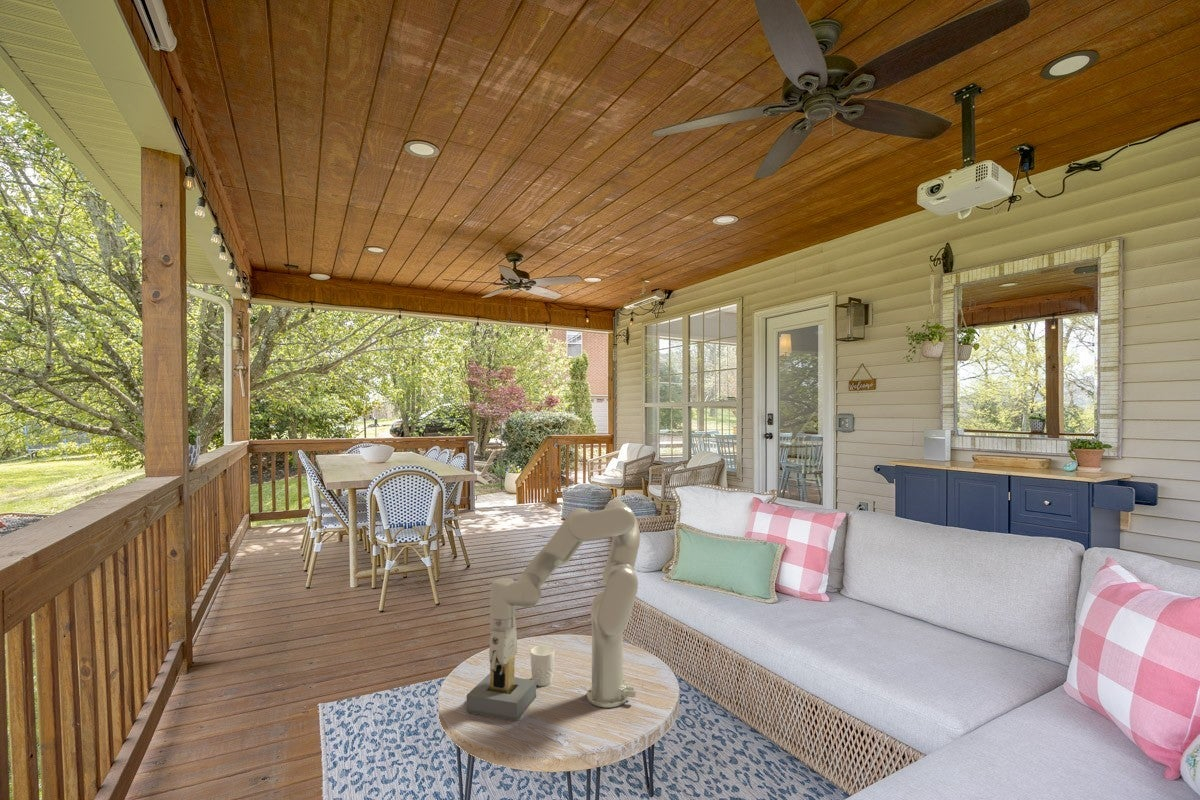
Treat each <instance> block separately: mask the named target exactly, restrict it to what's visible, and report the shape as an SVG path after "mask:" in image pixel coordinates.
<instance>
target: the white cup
mask: <svg viewBox="0 0 1200 800" xmlns="http://www.w3.org/2000/svg"><path fill="white" fill-rule="evenodd" d="M555 652H556V649H555V648H554V647H553V646H550V645H536V646H534V647H532V648H531V649H530V668H531V680H536V686H537V685H538V687H545V686H546V687H547V686H549V685H551V684H552V683H553V682H554V671H555V655H556V653H555Z"/></svg>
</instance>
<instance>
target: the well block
mask: <svg viewBox="0 0 1200 800" xmlns="http://www.w3.org/2000/svg"><path fill="white" fill-rule="evenodd" d="M536 698H537V685H536V680H532V679H528V678H521V677H515V676H514V691H513V692H512V693H511V694H505V693H499V692H492V691H490V673H488V674H487V675H486V676H485V677H484V678H483V679H482V680H480V682H479V683H478V684H477V685H475V687H474V688H472V690H470V691H469V692H468V693H467V694H466V711H465V712H466V713H467V712H468V713H467V714H474V715H478V714H480V715H479V716H484V715H485V717H492V718H496V719H503V720H509V721H513V722H514V721H515V722H518V720H519V719H520V718H521V716H522V715H523V714H524V713H525V711H526V710H527V709H529V707H530V706H531V704H532V703H533V702H534V700H535V699H536Z"/></svg>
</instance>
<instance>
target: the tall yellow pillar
mask: <svg viewBox="0 0 1200 800" xmlns="http://www.w3.org/2000/svg"><path fill="white" fill-rule="evenodd" d="M515 657H516V655H514V656H513V657H512V658H511V659H509V660H508V663H507V664H506V665H504V666H503V674H504V687H503V688H499V687H494V686H493V679H494V674H493V671H492V670H490V669H489V671H490V672H489V674H490V691H492V692H499V693H505V694H511V693H512V692H513V691H514V677H515ZM497 662H499V661H497ZM489 663H490V662H489ZM490 666H491V663H490ZM497 667H499V669H500V666H499V665H497Z"/></svg>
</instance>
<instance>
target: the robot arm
mask: <svg viewBox="0 0 1200 800" xmlns="http://www.w3.org/2000/svg"><path fill="white" fill-rule="evenodd" d="M636 517H637V516H635V513H634V511H633V510H632V509H631V508H630V507H629V506H628V505H627V504H626V503H625V502H623V501H622V500H616V499H615V500H611V501H609V502H608V503H606V505H605V506H604V508H603V509H601V510H600V509H599V510H594V511H589V510H588V509H586V508H583V507H578V508H575V509H574V510H572V511H571V512H570V513H569V515H568V516H567V517H566V518H565V520H564V521H563V522H562V523H561V525H560V526H559V528H558V529H557V530H556V531H555V533H554V534H553V535H552V536H551V538H550V539H549V541H548V542H547V543H546V544H545V546H543V547H542V548H541V550H540V551H539V552H538V553H537V554H536V555H535V556H534V558H533V559H531V561H530V562H529V563H528V565H527V566H526V567H525V569H524V570H523V572H521V574H520V576H519V577H518V579H517V582H516V581H515V580H514V579H513V578H508V577H502V578H500V577H499V578H496V579H494V580H493V581H492V582H491V583H490V611H489V612H490V613H489V615H490V618H489V619H490V620H489V622H490V626H489V627H490V638H489V651H488V652H489V653H488V654H489V659H488V660H489V663H491V666H490V667H489V671H490V670H492V671H493V674H494V679H493V686H494V687H499V688H503V687H504V674H503V666H504V665H506V664H507V663H508V660H509V659H511V658H512V657H513V656H514V655H515V656H516V655H517V653H518V635H517V625H516V623H517V622H516V619H517V616H516V615H517V609H516V608H517V607H522V608H531V607H535V606H536V605H538V603H540V601H541V598H542V587H543V585H544V584H545V583H546V580H547V579H548V578H549V577H550V576H551V574H552V573H553V572H554V571H555V570H556V569H557V568H559V567H562V566H563V565H566V564H567V563H569V562H570V560H571V559H572V558H573V556H574V555H575V554H576V552H577V551H578V549H580V547H581V545H582V544H583V542H593V541H599V540H603V539H609V538H612V540H611V545H610V550H609V553H608V556H607V560H606V563H605V565H604V568H603V572H602V581H603V583H604V590H603V591H602V592H599V593H598V594H596V595H595V597H594V598H593V600H592V602H591V607H590V618H591V620H590V621H591V687H590V688H588V689H587V692H586V700H587V701H588V702H589V703H590V704H591V705H593V706H596V707H598V708H606V709H607V708H616V707H619V706H621V705H624V704H625V703H626V702H627V701H628V698H632V699H633V698H634V699H635V698H636V697H637V690H635V687H634V686H627V685H626V680H624V679H623V678H624V677H623V674H624V673H623V669H624V667H623V665H624V662H623V661H624V660H623V659H624V657H623V655H624V654H623V649H624V648H623V646H624V645H623V644H624V643H623V642H624V640H623V639H624V636H623V635H624V634H623V633H624V631H625V629H626V628H627V627H628V624H629V621H630V618H631V615H632V611H633V608H634V604H635V601H636V597H637V594H638V588H639V586H638V585H639V581H638V576H637V574H636V572H635V571H634V569H635V565H636V561H637V556H638V553H639V548H640V544H641V543H640V542H641V541H640V540H641V532H640V531H641V530H640V526H639V523H638V520H637V518H636ZM497 661H499V662H497ZM497 665H499V666H500V669H499V667H497Z"/></svg>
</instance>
